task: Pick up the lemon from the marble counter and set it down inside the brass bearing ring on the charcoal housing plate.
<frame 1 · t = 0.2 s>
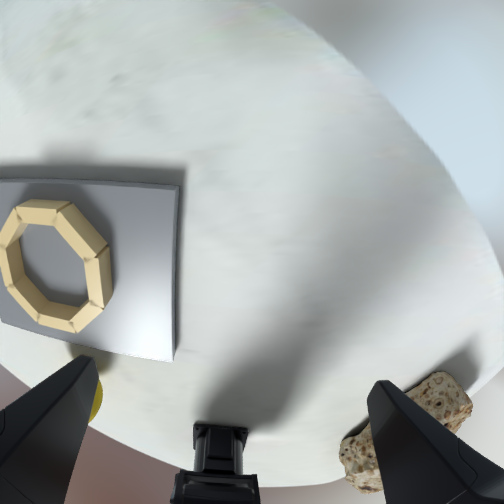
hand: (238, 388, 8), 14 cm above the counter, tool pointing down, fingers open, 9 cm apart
rock: (399, 420, 34), on the counter
housing plate: (65, 265, 22), on the counter
lemon: (89, 367, 27), on the counter
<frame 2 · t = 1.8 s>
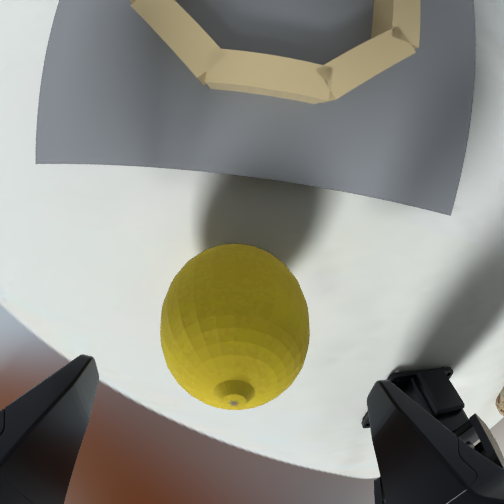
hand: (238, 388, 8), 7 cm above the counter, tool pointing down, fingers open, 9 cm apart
housing plate: (273, 14, 10), on the counter
lemon: (235, 270, 15), on the counter
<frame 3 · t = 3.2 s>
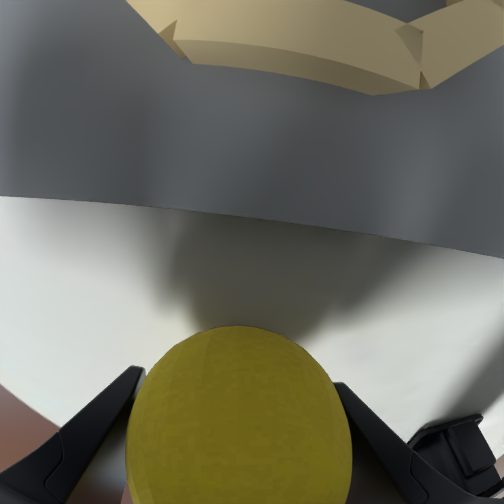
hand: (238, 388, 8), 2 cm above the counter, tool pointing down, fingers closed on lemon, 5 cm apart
lemon: (238, 341, 10), on the counter, touching gripper
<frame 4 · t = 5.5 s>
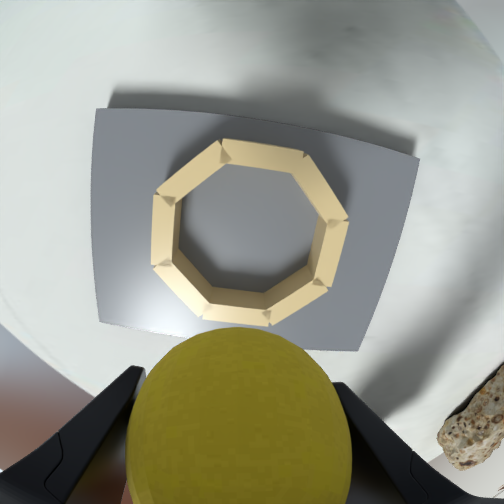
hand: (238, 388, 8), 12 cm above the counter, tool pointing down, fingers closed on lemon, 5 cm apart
rock: (487, 396, 31), on the counter
housing plate: (244, 238, 20), on the counter
lemon: (237, 342, 10), point 10 cm above the counter, touching gripper
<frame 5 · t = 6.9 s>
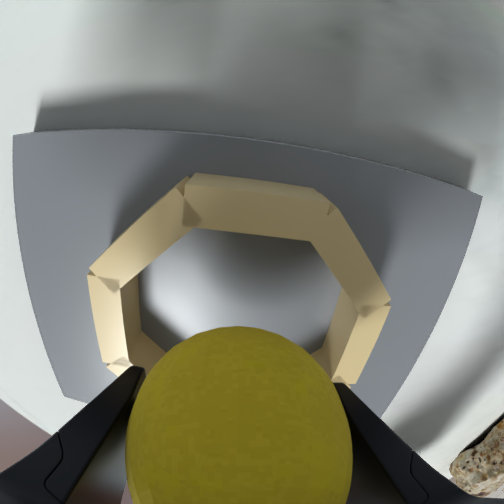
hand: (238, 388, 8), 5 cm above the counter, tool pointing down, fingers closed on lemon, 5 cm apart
housing plate: (234, 310, 14), on the counter
lemon: (238, 341, 10), point 3 cm above the counter, touching gripper
when the fingers open (5 cm above the counter, at t = 7.7 s): lemon drops 2 cm, resting on housing plate.
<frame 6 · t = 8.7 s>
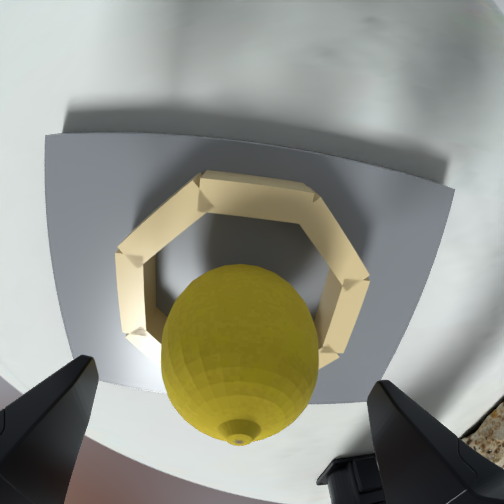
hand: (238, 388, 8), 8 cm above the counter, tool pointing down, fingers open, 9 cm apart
rock: (498, 414, 27), on the counter
housing plate: (237, 289, 16), on the counter
lemon: (240, 287, 14), point 1 cm above the counter, touching housing plate
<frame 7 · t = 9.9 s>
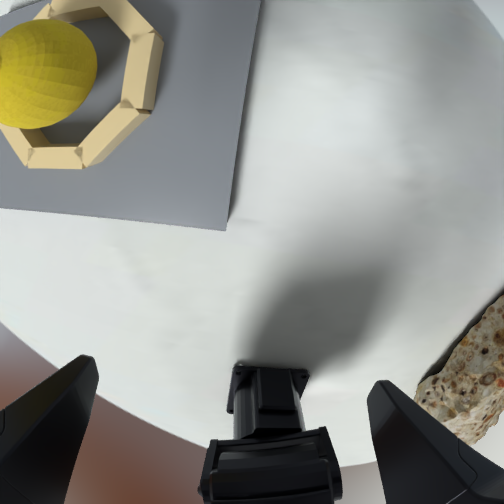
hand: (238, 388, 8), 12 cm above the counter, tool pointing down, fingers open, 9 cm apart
rock: (476, 354, 26), on the counter
housing plate: (86, 95, 15), on the counter
lemon: (79, 80, 13), point 1 cm above the counter, touching housing plate
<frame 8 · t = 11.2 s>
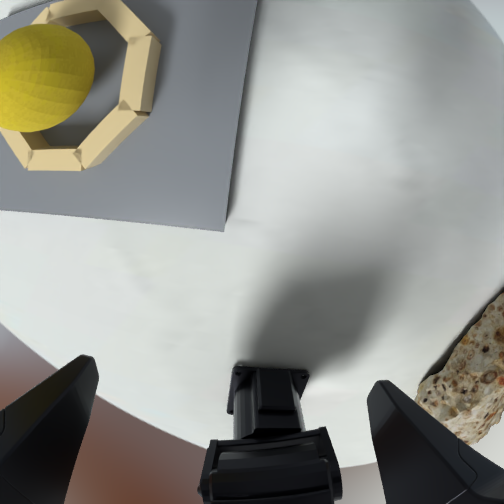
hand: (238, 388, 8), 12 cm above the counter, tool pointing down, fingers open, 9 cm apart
rock: (478, 353, 26), on the counter
housing plate: (85, 98, 15), on the counter
lemon: (78, 83, 14), point 1 cm above the counter, touching housing plate
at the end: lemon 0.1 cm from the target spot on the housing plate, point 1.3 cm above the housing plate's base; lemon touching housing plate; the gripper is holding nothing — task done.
